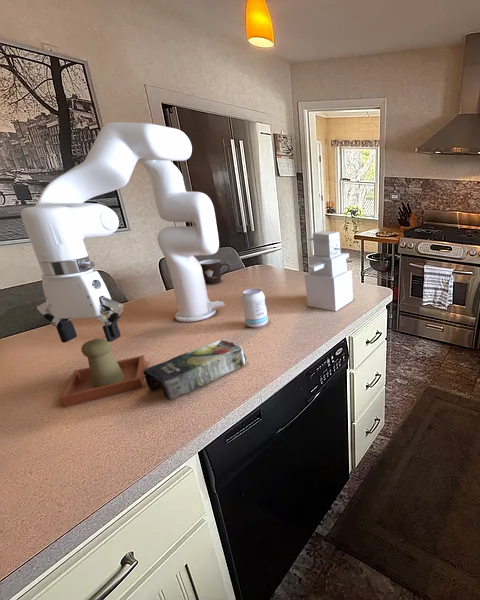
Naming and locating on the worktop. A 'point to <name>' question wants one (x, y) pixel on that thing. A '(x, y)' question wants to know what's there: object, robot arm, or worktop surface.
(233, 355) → the juice carton
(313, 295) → the blocky snowman figure
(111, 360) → the cork
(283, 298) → the worktop surface
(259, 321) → the beverage can
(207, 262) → the coffee mug
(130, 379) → the tray
